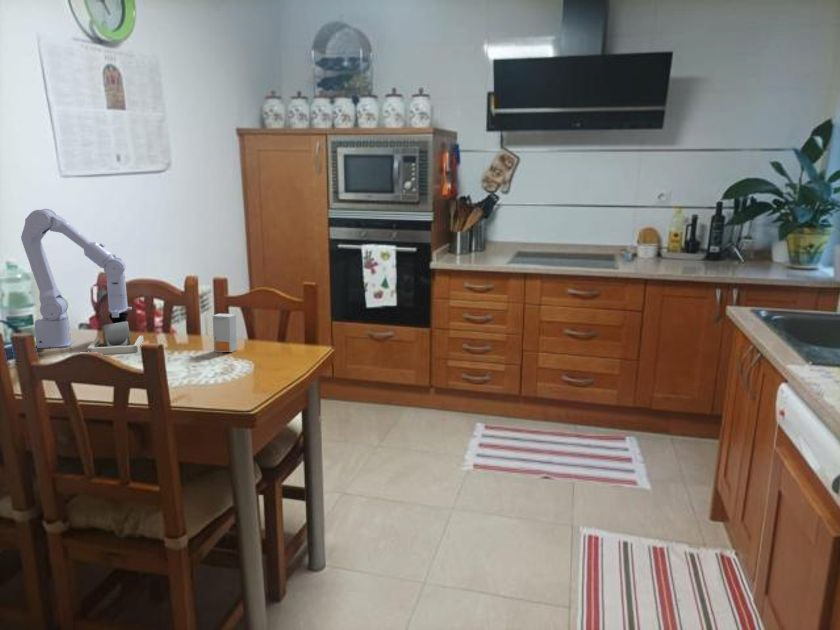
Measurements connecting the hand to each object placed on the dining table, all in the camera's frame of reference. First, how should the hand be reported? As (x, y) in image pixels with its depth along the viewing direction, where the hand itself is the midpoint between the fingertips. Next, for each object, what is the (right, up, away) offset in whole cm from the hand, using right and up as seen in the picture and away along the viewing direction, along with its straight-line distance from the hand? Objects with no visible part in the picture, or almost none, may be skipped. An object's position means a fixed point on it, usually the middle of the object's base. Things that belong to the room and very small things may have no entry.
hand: (120, 334), depth 213 cm
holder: (+2, -4, -7) cm, 9 cm away
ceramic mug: (+2, -4, -6) cm, 7 cm away
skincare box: (+39, -5, -11) cm, 41 cm away
